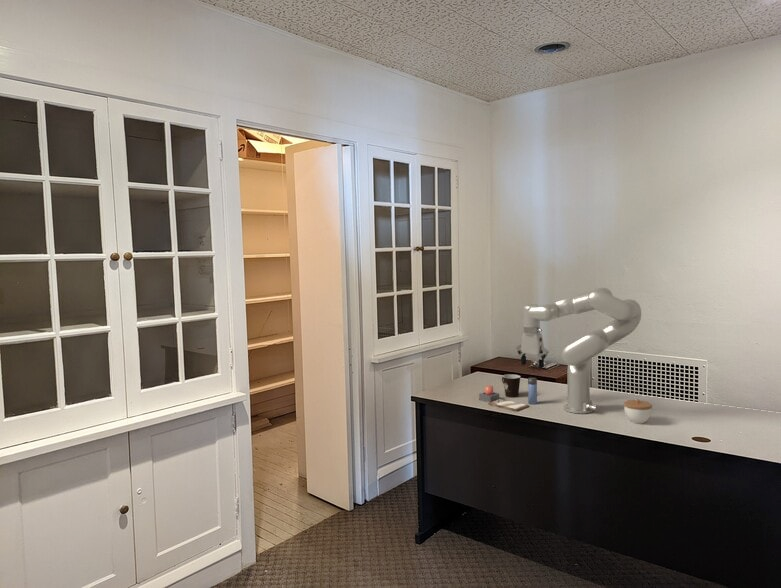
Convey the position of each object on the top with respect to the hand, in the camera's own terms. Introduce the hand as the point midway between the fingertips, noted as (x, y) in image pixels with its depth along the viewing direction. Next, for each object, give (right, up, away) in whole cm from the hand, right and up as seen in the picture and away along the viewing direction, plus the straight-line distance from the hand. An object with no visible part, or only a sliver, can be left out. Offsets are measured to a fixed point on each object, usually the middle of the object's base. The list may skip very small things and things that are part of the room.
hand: (532, 366), depth 257 cm
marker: (+1, -18, +1) cm, 18 cm away
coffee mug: (-6, -17, +17) cm, 25 cm away
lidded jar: (+37, -20, -29) cm, 51 cm away
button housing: (-19, -18, +10) cm, 28 cm away
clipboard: (-12, -19, -1) cm, 22 cm away
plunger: (-19, -16, +10) cm, 27 cm away
